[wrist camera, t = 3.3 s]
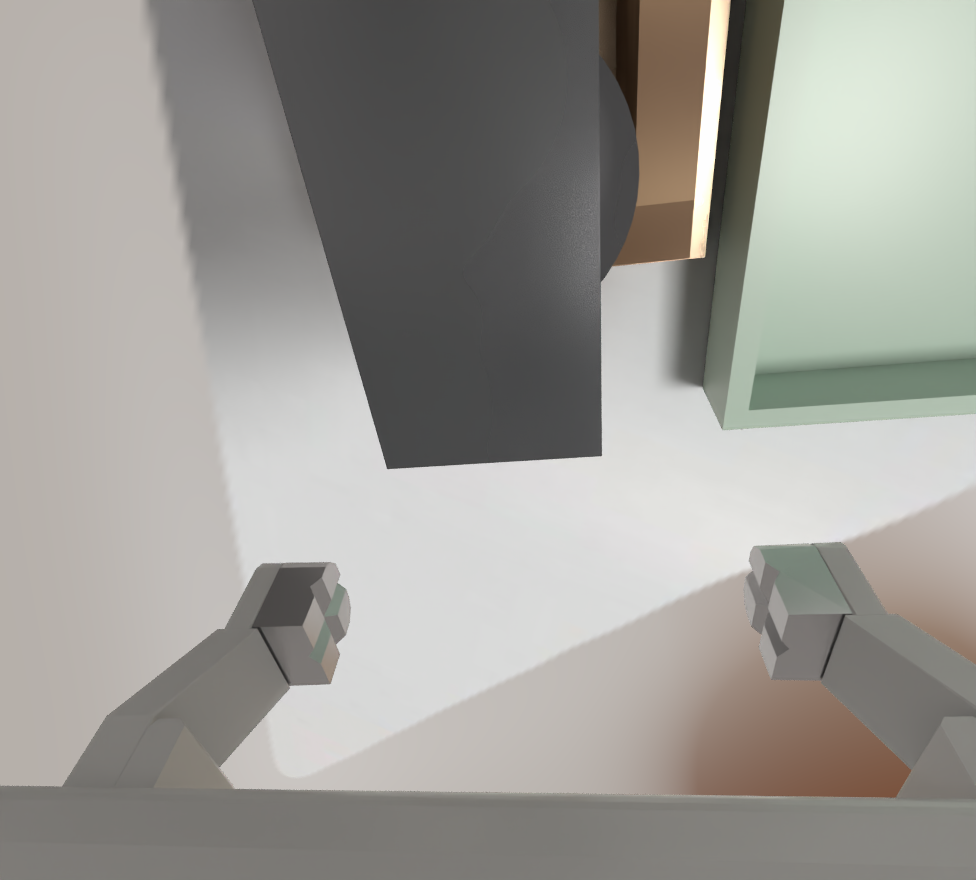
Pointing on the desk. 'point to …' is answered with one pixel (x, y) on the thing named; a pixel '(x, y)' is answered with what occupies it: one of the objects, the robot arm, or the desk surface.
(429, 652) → the desk surface
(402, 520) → the desk surface
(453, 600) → the desk surface
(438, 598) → the desk surface
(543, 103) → the post stand
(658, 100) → the walnut collar
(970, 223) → the sage tray
